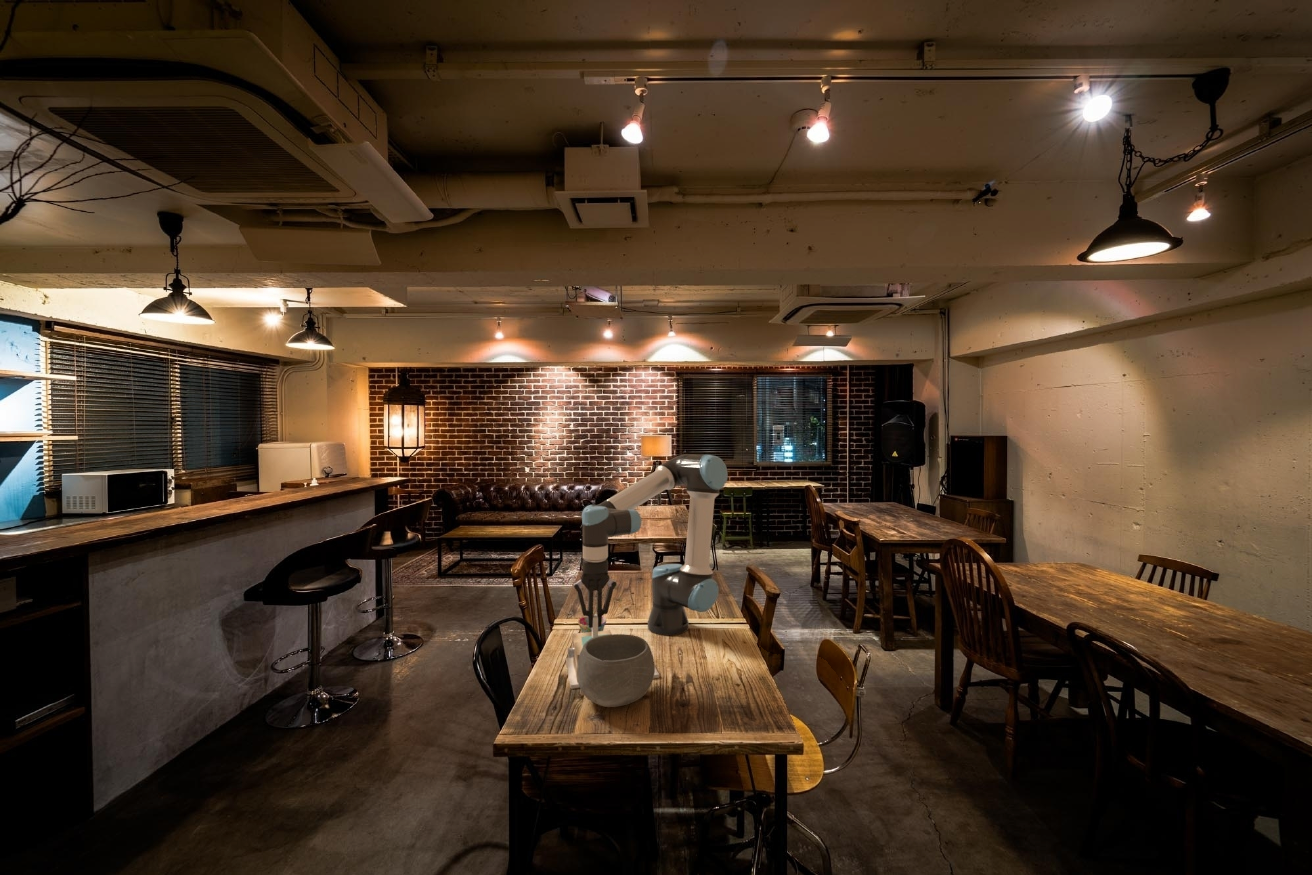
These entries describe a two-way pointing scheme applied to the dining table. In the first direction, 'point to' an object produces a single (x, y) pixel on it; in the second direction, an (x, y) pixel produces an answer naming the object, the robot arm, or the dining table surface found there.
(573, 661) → the block
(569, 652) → the pin
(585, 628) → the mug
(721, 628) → the dining table surface
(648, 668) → the bowl
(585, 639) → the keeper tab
